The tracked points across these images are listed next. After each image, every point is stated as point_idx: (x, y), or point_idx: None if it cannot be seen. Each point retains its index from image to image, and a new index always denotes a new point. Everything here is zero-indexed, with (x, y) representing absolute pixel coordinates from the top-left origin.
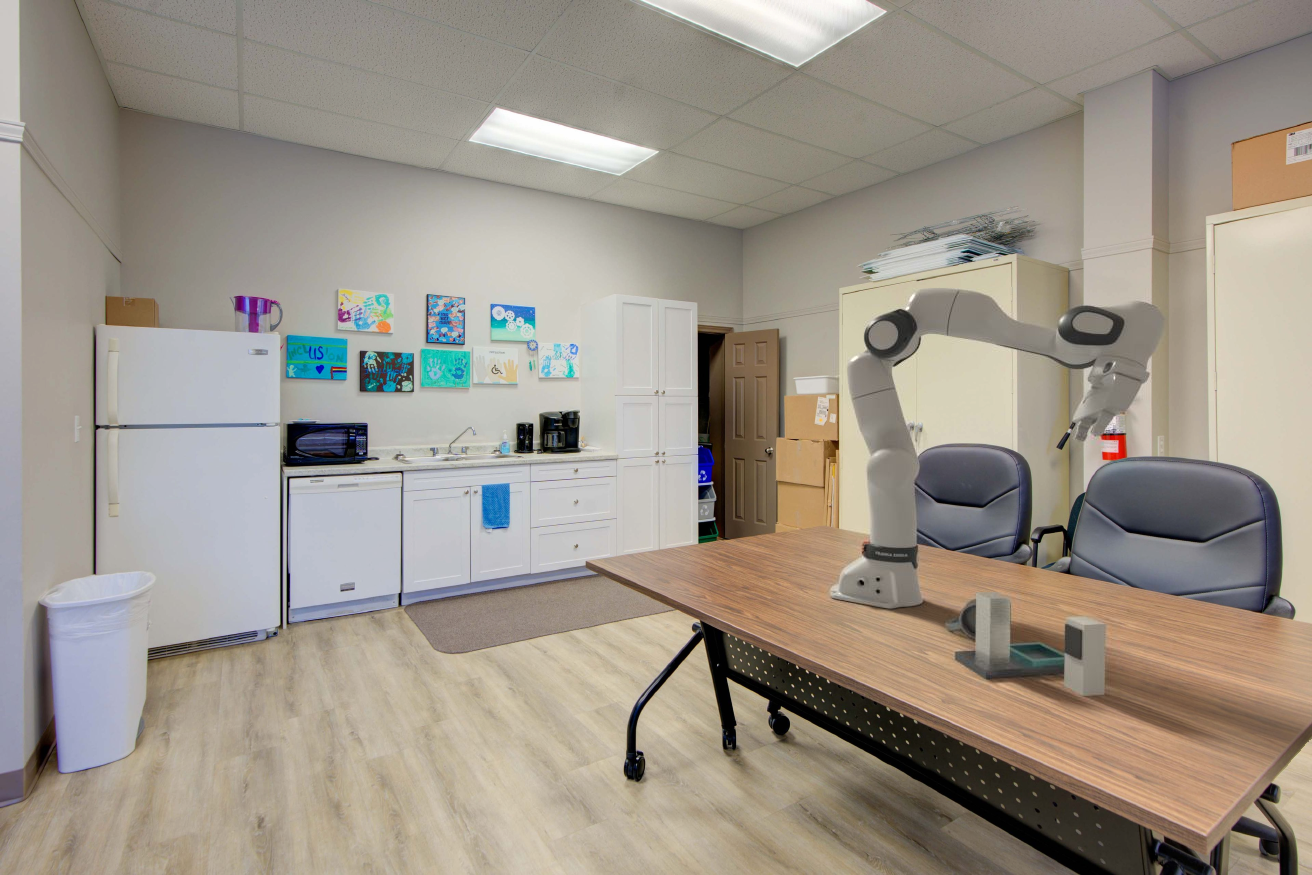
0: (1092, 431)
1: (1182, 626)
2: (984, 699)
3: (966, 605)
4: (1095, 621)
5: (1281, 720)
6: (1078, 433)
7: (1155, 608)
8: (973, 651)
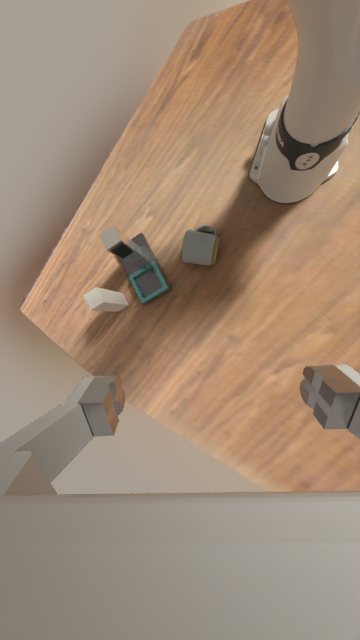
0: (92, 376)
1: (285, 421)
2: (92, 249)
3: (191, 232)
4: (93, 305)
5: None
6: (327, 385)
7: None
8: (145, 244)
